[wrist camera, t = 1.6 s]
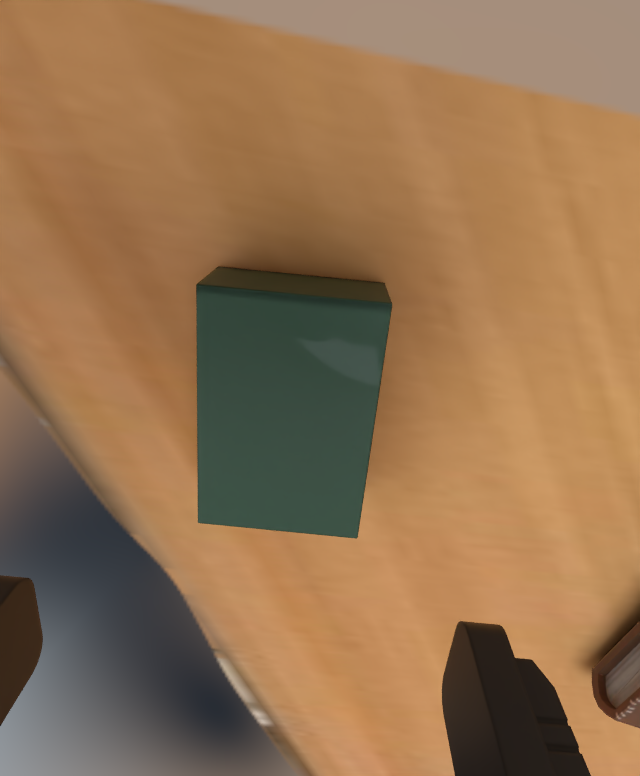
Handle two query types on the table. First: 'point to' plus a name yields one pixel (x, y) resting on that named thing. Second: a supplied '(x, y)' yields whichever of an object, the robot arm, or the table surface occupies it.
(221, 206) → the table surface
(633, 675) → the book
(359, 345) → the notebook
